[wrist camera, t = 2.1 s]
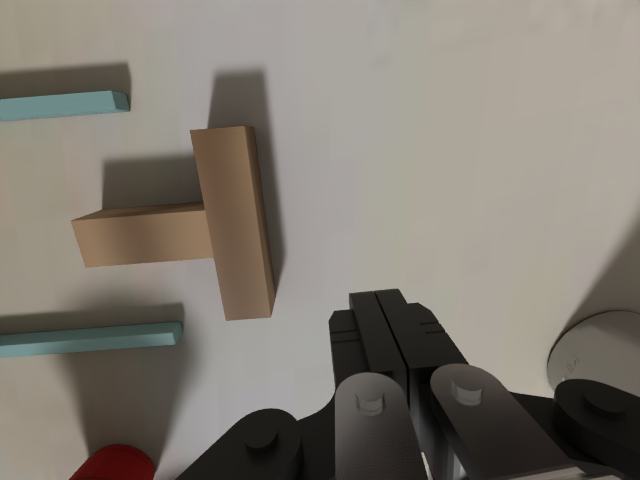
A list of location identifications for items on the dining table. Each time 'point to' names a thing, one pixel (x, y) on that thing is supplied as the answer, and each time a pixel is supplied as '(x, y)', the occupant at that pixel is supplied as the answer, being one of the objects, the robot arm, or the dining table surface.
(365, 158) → the dining table surface
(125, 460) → the plastic cup
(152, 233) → the t block
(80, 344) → the dock
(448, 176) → the dining table surface
